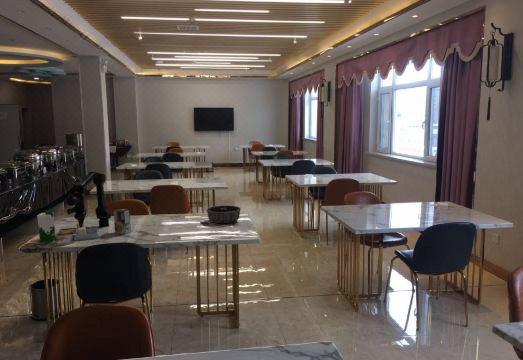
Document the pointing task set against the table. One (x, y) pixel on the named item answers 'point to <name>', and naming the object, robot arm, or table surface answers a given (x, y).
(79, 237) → the slate bin
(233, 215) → the bundt pan
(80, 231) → the tan rectangular block
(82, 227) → the stone
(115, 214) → the coffee box
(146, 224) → the table surface
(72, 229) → the walnut caddy
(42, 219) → the milk carton
